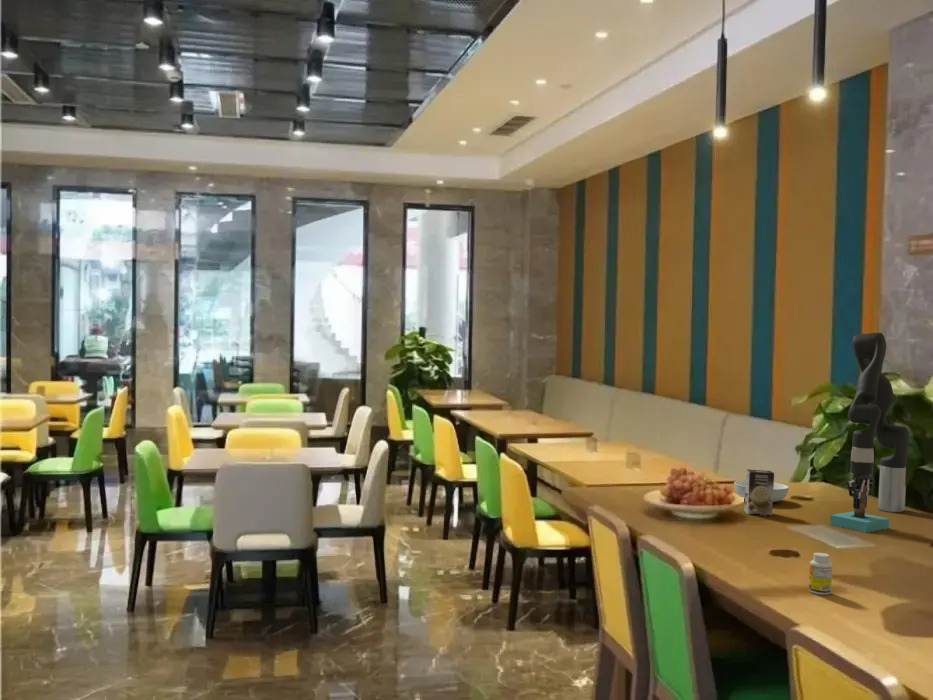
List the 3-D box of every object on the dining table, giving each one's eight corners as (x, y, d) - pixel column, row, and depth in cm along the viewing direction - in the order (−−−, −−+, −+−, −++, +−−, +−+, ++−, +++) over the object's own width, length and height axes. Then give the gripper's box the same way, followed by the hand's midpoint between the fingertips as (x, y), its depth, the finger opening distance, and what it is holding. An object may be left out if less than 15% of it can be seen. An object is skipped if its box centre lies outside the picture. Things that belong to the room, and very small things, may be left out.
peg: (857, 516, 339) (859, 483, 338) (866, 518, 336) (868, 485, 335) (851, 517, 337) (853, 484, 336) (860, 519, 334) (862, 485, 333)
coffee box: (747, 514, 351) (749, 471, 351) (743, 511, 357) (745, 469, 357) (772, 516, 350) (774, 472, 350) (768, 512, 357) (770, 470, 356)
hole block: (853, 520, 346) (853, 511, 346) (888, 528, 334) (889, 518, 334) (830, 524, 338) (830, 514, 338) (866, 532, 326) (866, 522, 326)
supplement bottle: (813, 588, 254) (814, 550, 254) (834, 592, 251) (835, 554, 250) (805, 592, 250) (807, 554, 250) (826, 596, 246) (828, 558, 246)
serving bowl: (795, 507, 369) (795, 489, 369) (741, 505, 369) (742, 488, 369) (778, 497, 390) (779, 480, 389) (727, 495, 390) (728, 478, 390)
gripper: (864, 457, 343) (861, 504, 343) (840, 459, 334) (838, 507, 335) (883, 460, 336) (880, 508, 337) (860, 462, 328) (857, 511, 329)
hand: (859, 507), depth 336 cm, fingers closed on peg, 3 cm apart
